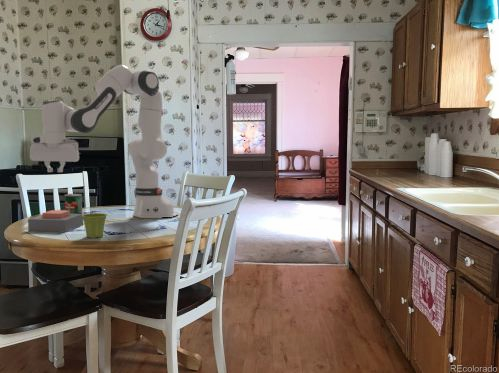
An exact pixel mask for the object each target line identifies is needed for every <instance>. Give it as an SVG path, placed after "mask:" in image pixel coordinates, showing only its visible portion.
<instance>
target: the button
mask: <svg viewBox="0 0 499 373" xmlns="http://www.w3.org/2000/svg"><path fill="white" fill-rule="evenodd" d="M41 215H42V217H43V218H64V217H67V216H70V211H65V210H59V209H57V210H56V209H55V210H53V209H52V210H48V211H44V212H42V214H41Z"/></svg>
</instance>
